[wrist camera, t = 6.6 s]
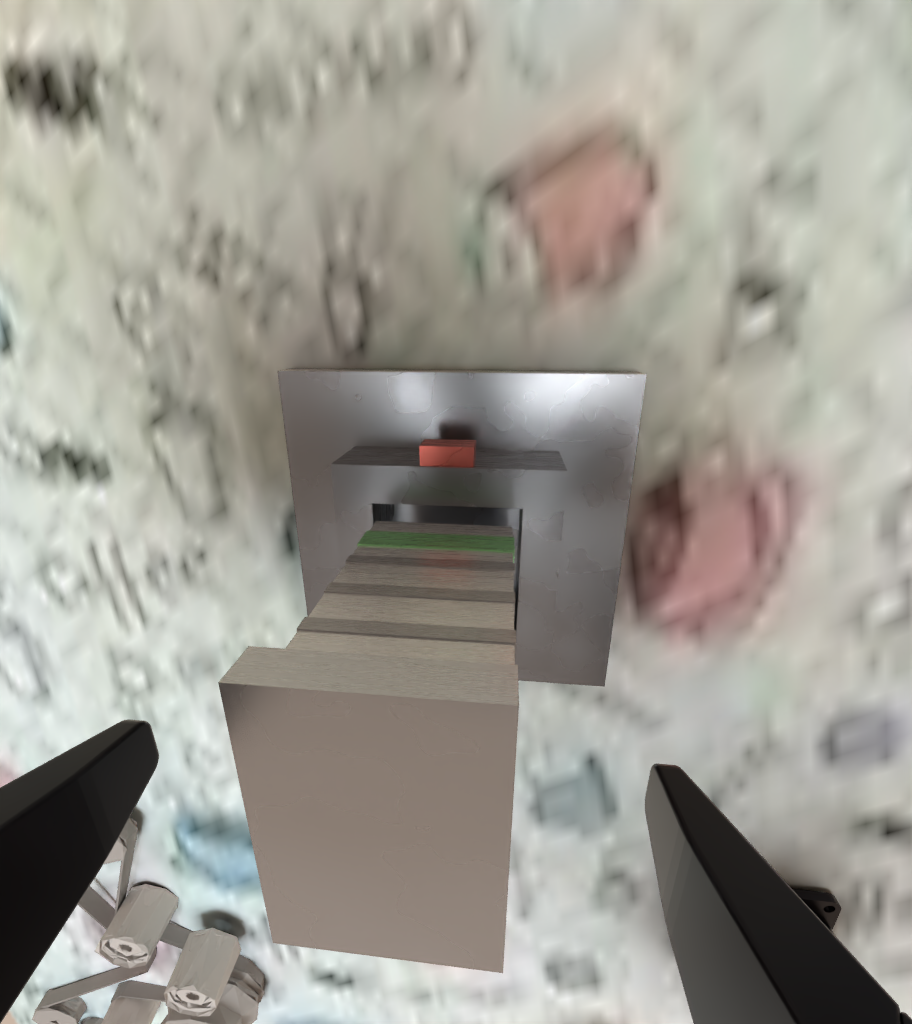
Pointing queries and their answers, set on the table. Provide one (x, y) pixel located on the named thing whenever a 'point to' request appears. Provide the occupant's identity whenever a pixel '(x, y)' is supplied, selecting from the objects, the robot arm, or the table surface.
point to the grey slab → (388, 751)
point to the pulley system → (132, 944)
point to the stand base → (477, 484)
